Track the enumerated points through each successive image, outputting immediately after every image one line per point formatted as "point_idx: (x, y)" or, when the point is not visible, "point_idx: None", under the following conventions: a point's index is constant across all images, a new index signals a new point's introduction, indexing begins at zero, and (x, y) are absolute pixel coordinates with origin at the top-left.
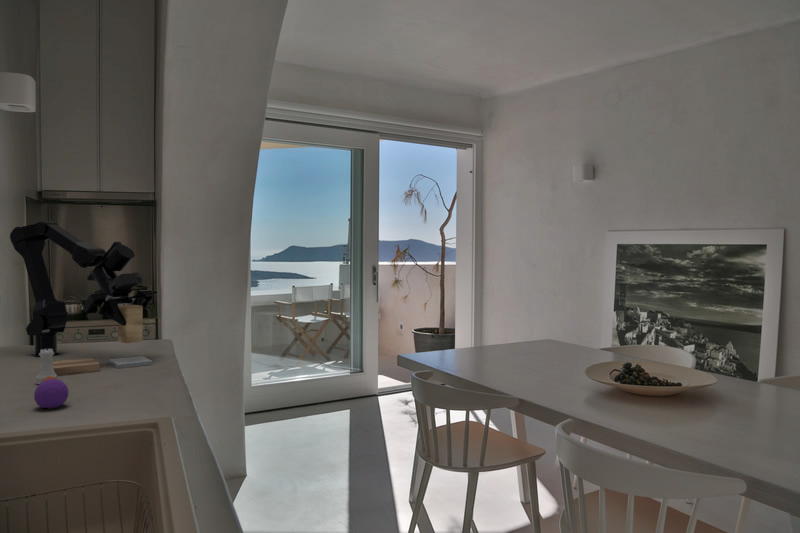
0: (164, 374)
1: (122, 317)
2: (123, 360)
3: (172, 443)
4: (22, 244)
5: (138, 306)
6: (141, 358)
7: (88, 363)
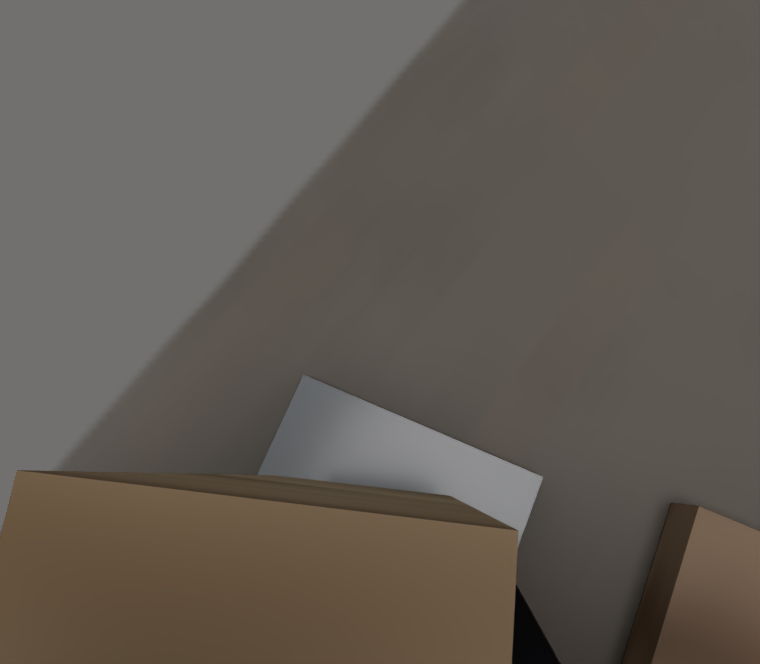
0: (481, 75)
1: (515, 636)
2: None
3: None
4: None
5: (153, 487)
6: None
7: (756, 593)
